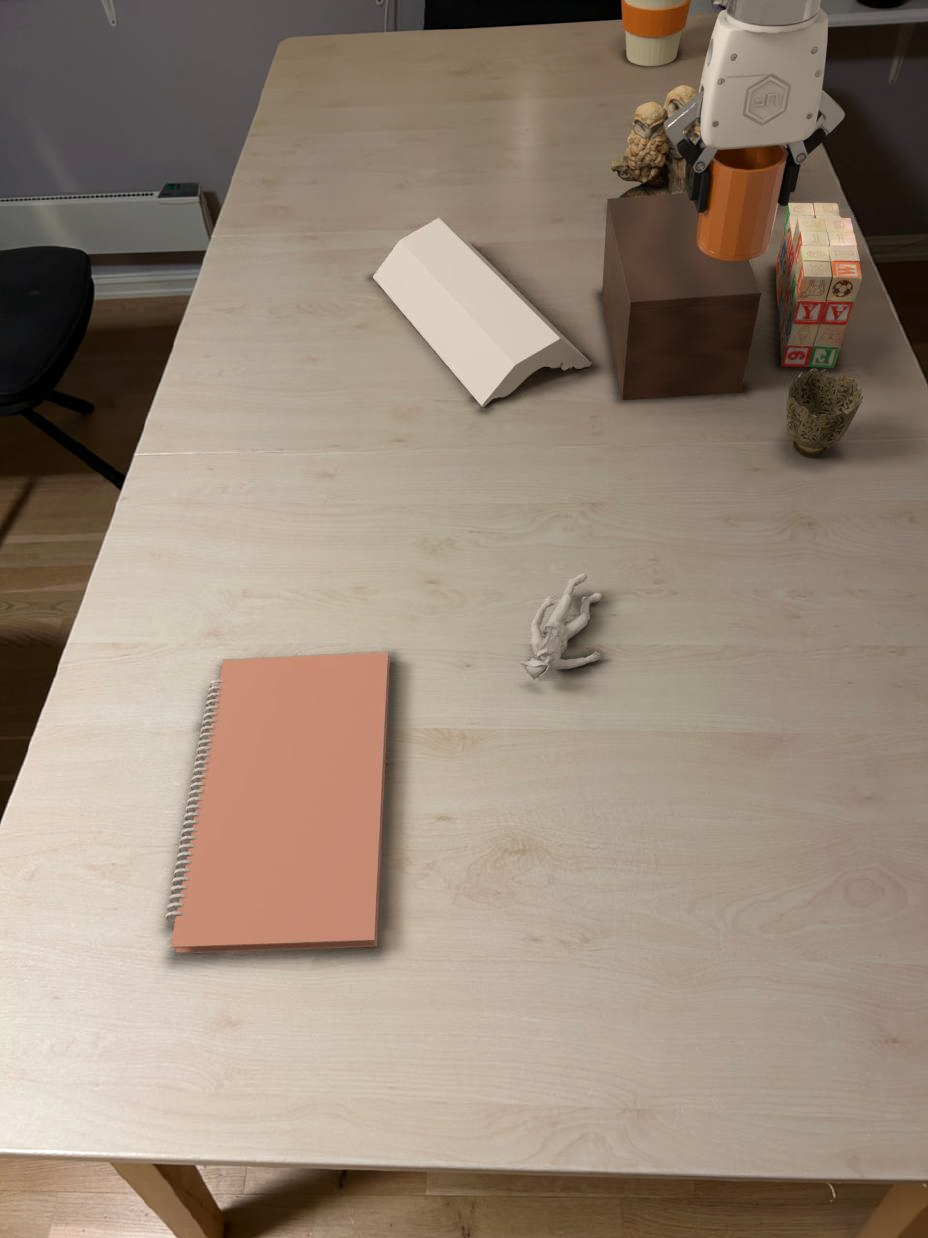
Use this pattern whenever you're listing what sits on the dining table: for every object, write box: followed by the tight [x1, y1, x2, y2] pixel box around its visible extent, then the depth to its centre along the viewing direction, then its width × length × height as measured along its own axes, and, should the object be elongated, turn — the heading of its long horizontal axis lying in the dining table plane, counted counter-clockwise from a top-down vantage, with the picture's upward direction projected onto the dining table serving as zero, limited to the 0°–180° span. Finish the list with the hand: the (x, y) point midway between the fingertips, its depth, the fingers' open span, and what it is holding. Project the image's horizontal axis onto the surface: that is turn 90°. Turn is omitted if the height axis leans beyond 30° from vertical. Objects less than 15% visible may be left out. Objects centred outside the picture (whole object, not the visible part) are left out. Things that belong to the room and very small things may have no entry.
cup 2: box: [785, 367, 864, 458], centre depth 100 cm, size 8×7×8 cm
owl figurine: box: [610, 84, 701, 198], centre depth 129 cm, size 18×12×17 cm, turn 77°
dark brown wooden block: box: [601, 193, 763, 401], centre depth 112 cm, size 14×22×13 cm, turn 1°
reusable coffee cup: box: [621, 0, 692, 67], centre depth 163 cm, size 13×13×15 cm
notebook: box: [165, 650, 391, 954], centre depth 80 cm, size 27×17×2 cm, turn 1°
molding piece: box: [372, 217, 593, 408], centre depth 122 cm, size 32×12×10 cm
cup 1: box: [696, 145, 788, 261], centre depth 91 cm, size 7×7×9 cm
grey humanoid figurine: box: [519, 572, 603, 681], centre depth 88 cm, size 8×5×12 cm
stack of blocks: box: [775, 202, 863, 369], centre depth 114 cm, size 21×6×12 cm, turn 171°
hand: (739, 201), depth 91 cm, fingers closed on cup 1, 7 cm apart
